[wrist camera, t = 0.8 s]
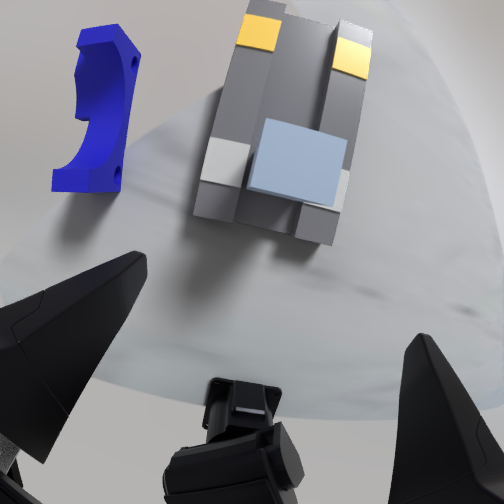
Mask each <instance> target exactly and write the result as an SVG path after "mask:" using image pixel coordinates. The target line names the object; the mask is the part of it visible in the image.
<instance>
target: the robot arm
mask: <svg viewBox="0 0 504 504" xmlns="http://www.w3.org/2000/svg"><path fill="white" fill-rule="evenodd" d="M146 279H147V258H146V255H145V254H144V253H141V252H138V251H132V252H129V253H127V254H124V255H122V256H120V257H117V258H115V259H113V260H110V261H108V262H106V263H103V264H101V265H99V266H96V267H94V268H92V269H89V270H87V271H85V272H82V273H80V274H78V275H76V276H73V277H71V278H69V279H67V280H65V281H62V282H60V283H58V284H56V285H53V286H51V287H49V288H47V289H45V291H44V290H42V291H40V292H38V293H36V294H34V295H31V296H29V297H27V298H25V299H22V300H20V301H17V302H15V303H12V304H10V305H7V306H5V307H2V308H0V504H42V503H41V502H40V501H38V500H37V499H36V498H34V497H33V496H32V495H30V494H29V493H28V492H26V491H25V490H24V489H23V483H22V480H21V476H20V472H19V468H18V464H17V460H16V456H17V455H18V453H19V451H20V450H23V451H24V452H26V453H27V454H28V455H30V456H31V457H33V458H34V459H36V460H37V461H39V462H40V463H42V464H44V463H45V461H46V459H47V457H48V455H49V453H50V451H51V449H52V447H53V445H54V443H55V441H56V439H57V437H58V436H59V433H60V431H61V430H62V428H63V426H64V424H65V422H66V421H67V419H68V417H69V416H68V415H70V413H71V411H72V409H73V407H74V406H75V404H76V402H77V400H78V398H79V397H80V395H81V393H82V391H83V390H84V388H85V386H86V384H87V383H88V381H89V379H90V378H91V376H92V374H93V372H94V371H95V369H96V367H97V366H98V364H99V362H100V361H101V359H102V357H103V356H104V354H105V352H106V351H107V349H108V347H109V346H110V344H111V343H112V341H113V339H114V338H115V336H116V335H117V333H118V331H119V330H120V328H121V327H122V325H123V323H124V322H125V320H126V318H127V317H128V315H129V313H130V311H131V309H132V307H133V305H134V303H135V301H136V299H137V297H138V295H139V293H140V291H141V289H142V287H143V285H144V283H145V281H146ZM215 382H218V383H219V384H215ZM275 392H278V393H277V394H275ZM281 395H282V391H281V389H280V388H278V387H272V386H265V385H262V384H256V383H249V382H243V381H237V380H236V381H234V380H228V379H223V378H217V377H215V378H213V379H212V380H211V384H210V389H209V394H208V399H207V404H206V408H205V413H204V419H203V423H202V427H203V428H204V429H206V430H208V431H207V439H206V444H202V445H197V446H193V447H182V448H181V449H180V450H179V451H178V452H175V454H174V455H173V456H172V458H171V461H170V464H169V465H168V467H167V468H166V469H165V471H164V473H163V488H164V492H165V496H164V499H165V501H166V503H167V504H297V503H298V502H297V498H296V495H295V492H294V489H293V488H296V487H298V485H299V484H300V482H301V481H302V479H303V477H304V471H303V467H302V464H301V460H300V457H299V454H298V452H297V450H296V449H295V447H294V445H293V443H292V441H291V439H290V437H289V435H288V434H287V432H286V430H285V428H284V426H283V424H282V422H278V423H275V424H274V425H273V418H274V415H275V412H276V409H277V407H278V404H279V401H280V398H281ZM207 425H208V426H207ZM397 429H398V430H397V440H396V450H395V459H394V467H393V475H392V481H391V488H390V494H389V500H388V504H504V453H503V451H502V449H501V448H500V446H499V445H498V443H497V441H496V440H495V438H494V437H493V435H492V434H491V432H490V430H489V428H488V426H487V425H486V423H485V421H484V419H483V418H482V416H480V413H479V411H478V409H477V407H476V406H475V404H474V402H473V401H472V399H471V397H470V396H469V394H468V392H467V391H466V389H465V387H464V386H463V384H462V383H461V381H460V379H459V378H458V376H457V375H456V373H455V372H454V370H453V368H452V367H451V365H450V364H449V362H448V361H447V359H446V358H445V356H444V355H443V353H442V352H441V350H440V349H439V347H438V346H437V344H436V343H435V341H434V340H433V338H432V337H431V336H430V335H428V334H424V333H419V334H417V335H416V337H415V338H414V339H413V341H412V342H411V343H410V344H409V346H408V347H407V349H406V351H405V354H404V363H403V371H402V379H401V387H400V395H399V413H398V428H397Z"/></svg>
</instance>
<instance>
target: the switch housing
mask: <svg viewBox="0 0 504 504" xmlns="http://www.w3.org/2000/svg"><path fill="white" fill-rule="evenodd" d="M285 7H286V4H283V3H278V2H273V1H268V0H250V2H249V5H248V8H247V11H246V14H245V16H244V19H243V22H242V25H241V28H240V32H239V35H238V38H237V41H236V46H235V49H234V53H233V56H232V59H231V62H230V66H229V70H228V73H227V76H226V80H225V83H224V87H223V91H222V94H221V98H220V102H219V105H218V109H217V113H216V117H215V121H214V125H213V129H212V132H211V137H210V139H209V143H208V147H207V151H206V155H205V160H204V164H203V168H202V173H201V177H200V183H199V188H198V193H197V197H196V202H195V207H194V211H193V215H195V216H200V217H204V218H209V219H214V220H218V221H223V222H228V223H232V224H233V222H237V223H242V224H246V225H251V226H255V227H260V228H264V229H269V230H273V231H278V232H282V233H286V234H291V235H292V236H293V237H295V238H299V239H303V240H308V241H312V242H316V243H320V244H325V245H329V246H332V243H333V240H334V236H335V232H336V228H337V224H338V220H339V215H340V212H341V211H342V207H343V202H344V198H345V194H346V189H347V185H348V180H349V176H350V167H351V162H352V157H353V152H354V147H355V142H356V137H357V132H358V126H359V121H360V115H361V109H362V104H363V98H364V91H365V85H366V80H367V77H368V71H369V63H370V56H371V42H372V33H373V31H370V30H368V29H365V28H362V27H360V26H357V25H354V24H352V23H349V22H346V21H343V20H340V21H339V23H338V24H337V26H336V27H332V26H329V25H325V24H322V23H319V22H315V21H312V20H308V19H304V18H301V17H297V16H293V15H289V14H284V11H285ZM266 118H269V119H273V120H278V121H282V122H286V123H289V124H293V125H297V126H301V127H304V128H308V129H312V130H315V131H319V132H322V133H325V134H329V135H332V136H335V137H339V138H342V139H345V140H347V145H346V150H345V155H344V160H343V164H342V169H341V174H340V178H339V183H338V187H337V192H336V196H335V200H334V205H333V207H331V206H325V205H319V204H312V203H306V202H300V201H294V200H290V199H286V198H281V197H277V196H273V195H269V194H264V193H260V192H256V191H251V190H247V189H246V187H247V183H248V179H249V174H250V170H251V166H252V161H253V157H254V153H255V149H256V146H257V143H258V140H259V137H260V134H261V131H262V128H263V125H264V122H265V120H266Z"/></svg>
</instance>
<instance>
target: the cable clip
mask: <svg viewBox="0 0 504 504" xmlns="http://www.w3.org/2000/svg"><path fill="white" fill-rule="evenodd" d="M76 47H77V48H78V49H79V50H80V54H79V58H78V62H77V66H76V70H75V74H74V77H75V83H76V94H77V101H76V114H75V118H76V119H79V120H81V121H89V125H88V129H87V132H86V135H85V138H84V141H83V143H82V146H81V148H80V149H79V152H78V153H77V155H76V156H75V157H74V159H73V160H72V161H71V162H70V163H69V164H67V165H66V166H64V167H62V168H60V169H53V176H52V190H51V191H52V192H81V193H94V192H120V190H121V178H122V168H123V158H124V149H125V148H126V140H127V132H128V125H129V118H130V111H131V106H132V100H133V94H134V88H135V83H136V78H137V73H138V68H139V64H140V59H141V54H140V52H139V51H138V50H137V48H136V47H135V46H134V44H133V43H132V42H131V40H130V39H129V38H128V36H127V35H126V34H125V33H124V31H123V30H122V29H121V27H120V26H119V25H118V24H111V25H105V26H99V27H93V28H87V29H82V30H81V32H80V35H79V39H78V42H77V45H76Z"/></svg>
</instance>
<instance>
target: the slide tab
mask: <svg viewBox="0 0 504 504" xmlns="http://www.w3.org/2000/svg"><path fill="white" fill-rule="evenodd" d="M346 145H347V140H345V139H342V138H339V137H335V136H332V135H329V134H325V133H322V132H319V131H315V130H312V129H308V128H304V127H301V126H297V125H293V124H289V123H286V122H282V121H278V120H273V119H269V118H266V120H265V122H264V125H263V128H262V131H261V134H260V137H259V140H258V143H257V146H256V149H255V153H254V157H253V161H252V166H251V170H250V174H249V179H248V183H247V187H246V189H247V190H251V191H256V192H260V193H264V194H269V195H273V196H277V197H281V198H286V199H290V200H294V201H300V202H306V203H312V204H319V205H325V206H331V207H333V205H334V200H335V196H336V192H337V187H338V183H339V178H340V174H341V169H342V164H343V160H344V155H345V150H346Z"/></svg>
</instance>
